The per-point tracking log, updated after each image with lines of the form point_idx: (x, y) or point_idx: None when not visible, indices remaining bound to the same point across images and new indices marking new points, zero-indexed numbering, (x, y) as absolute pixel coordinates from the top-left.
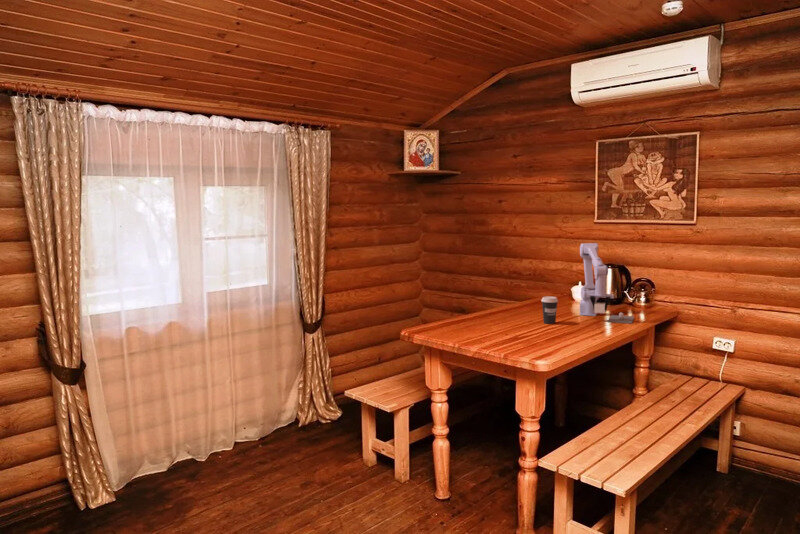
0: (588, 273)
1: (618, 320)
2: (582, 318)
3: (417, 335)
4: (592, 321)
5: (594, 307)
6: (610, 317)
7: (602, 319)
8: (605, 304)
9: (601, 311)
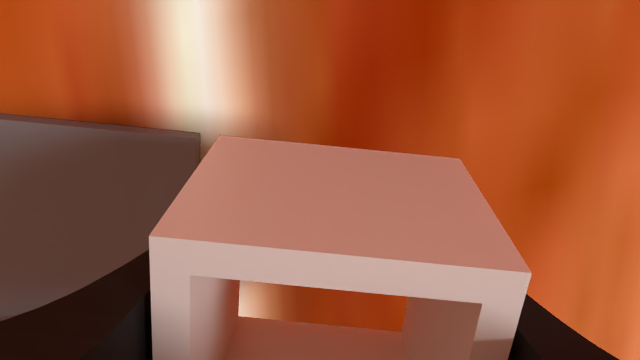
0: None
1: (40, 222)
2: (594, 304)
3: None
4: (451, 122)
5: (493, 217)
6: None
7: (294, 301)
8: (129, 301)
9: (286, 155)
